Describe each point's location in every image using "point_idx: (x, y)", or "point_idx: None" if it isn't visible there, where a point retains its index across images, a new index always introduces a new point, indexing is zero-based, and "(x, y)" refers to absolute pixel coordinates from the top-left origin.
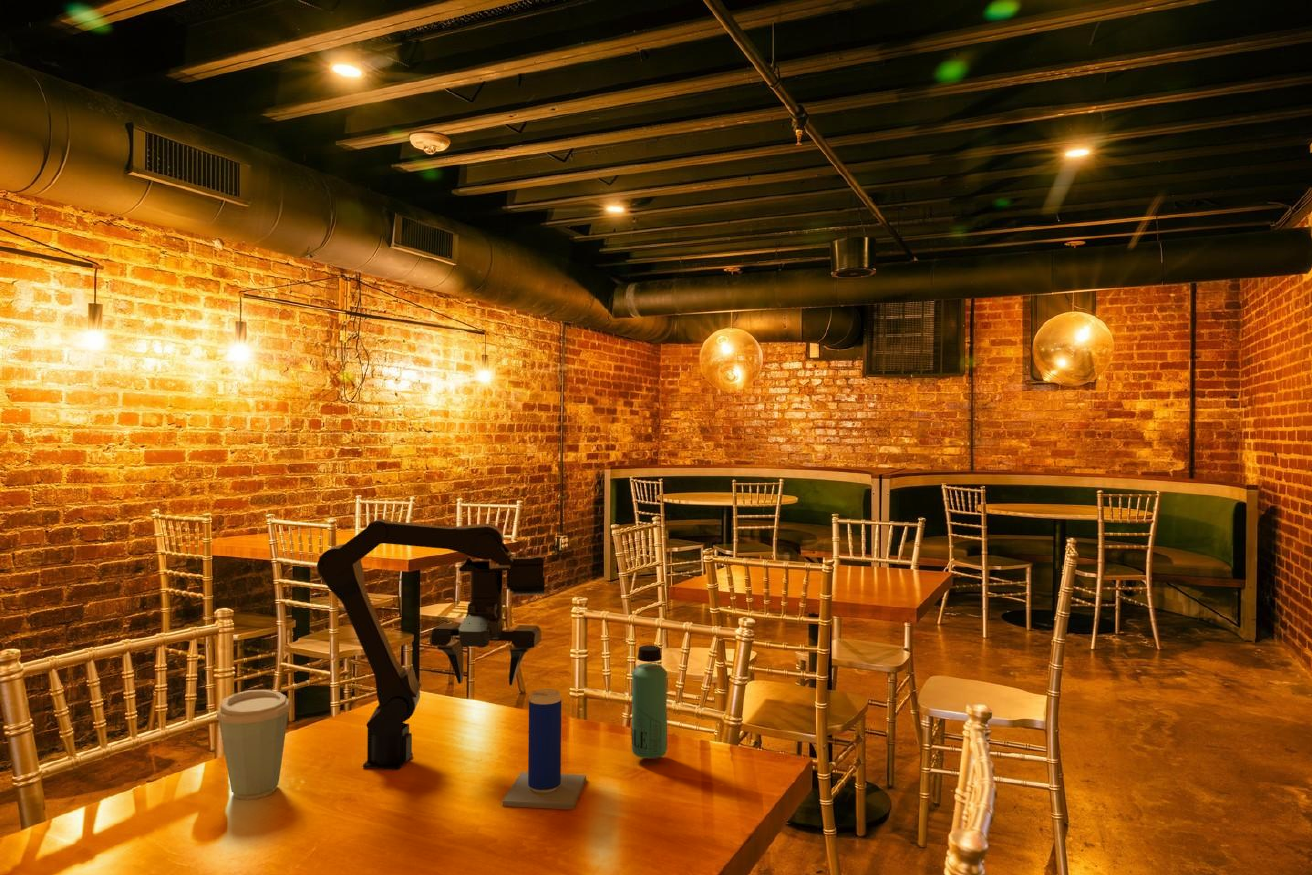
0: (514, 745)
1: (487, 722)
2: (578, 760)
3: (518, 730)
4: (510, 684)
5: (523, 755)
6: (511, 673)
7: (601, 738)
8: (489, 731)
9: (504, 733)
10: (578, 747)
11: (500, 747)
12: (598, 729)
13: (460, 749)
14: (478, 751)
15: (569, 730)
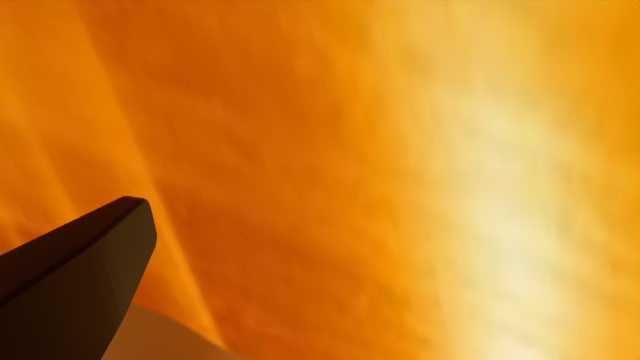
0: (331, 149)
1: (479, 343)
2: (39, 2)
3: (352, 275)
4: (130, 198)
5: (265, 47)
6: (28, 262)
7: (63, 198)
8: (459, 275)
9: (397, 255)
10: (97, 127)
11: (383, 130)
12: None
13: (564, 110)
14: (474, 88)
15: (185, 262)
